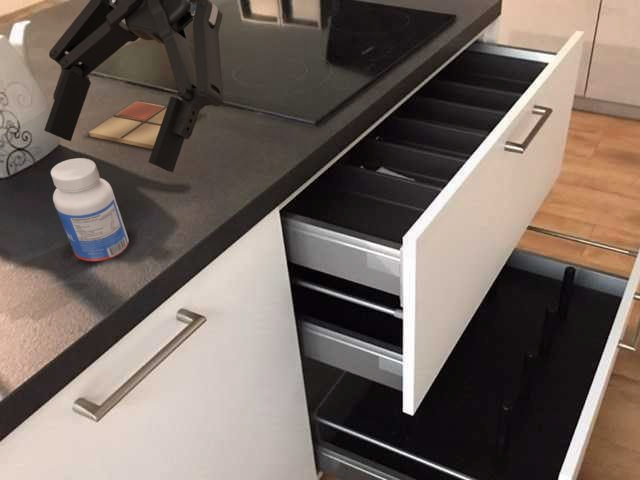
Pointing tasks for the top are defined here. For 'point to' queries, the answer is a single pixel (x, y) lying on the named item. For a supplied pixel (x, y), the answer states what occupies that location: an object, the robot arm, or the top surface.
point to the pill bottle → (88, 210)
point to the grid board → (133, 125)
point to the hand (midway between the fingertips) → (107, 151)
